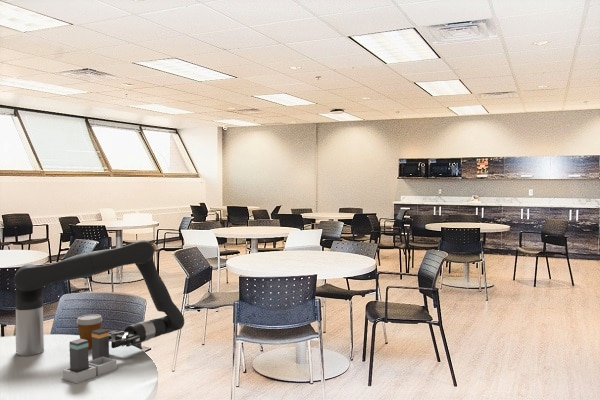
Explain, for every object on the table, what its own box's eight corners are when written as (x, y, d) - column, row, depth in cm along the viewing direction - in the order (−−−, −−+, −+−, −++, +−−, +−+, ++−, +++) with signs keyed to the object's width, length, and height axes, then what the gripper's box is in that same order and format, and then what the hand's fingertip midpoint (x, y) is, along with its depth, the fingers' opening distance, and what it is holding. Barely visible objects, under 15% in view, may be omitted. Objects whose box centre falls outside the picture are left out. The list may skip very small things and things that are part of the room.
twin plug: (70, 378, 173) (69, 341, 172) (81, 374, 176) (80, 338, 176) (77, 380, 170) (77, 343, 170) (89, 376, 174) (88, 340, 173)
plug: (92, 364, 189) (91, 331, 188) (102, 361, 192) (101, 328, 192) (99, 366, 187) (98, 333, 186) (109, 363, 190) (108, 330, 190)
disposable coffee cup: (94, 351, 203) (93, 320, 203) (71, 350, 205) (71, 319, 204) (107, 344, 212) (107, 314, 212) (86, 342, 214) (85, 313, 214)
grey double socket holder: (61, 382, 172) (60, 369, 172) (103, 367, 186) (103, 355, 185) (76, 387, 168) (75, 374, 168) (118, 372, 181) (118, 360, 181)
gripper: (127, 320, 208) (91, 330, 194) (152, 325, 200) (117, 336, 187) (127, 339, 208) (91, 350, 195) (153, 345, 200) (117, 357, 187)
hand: (104, 343), depth 191 cm, fingers open, 8 cm apart
